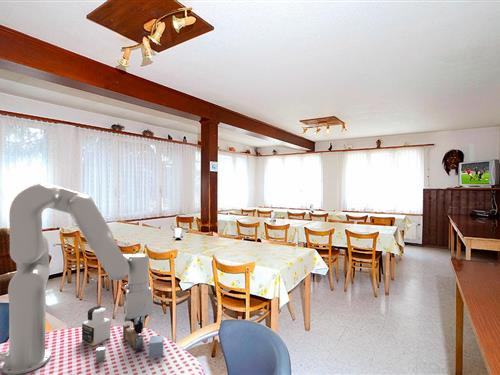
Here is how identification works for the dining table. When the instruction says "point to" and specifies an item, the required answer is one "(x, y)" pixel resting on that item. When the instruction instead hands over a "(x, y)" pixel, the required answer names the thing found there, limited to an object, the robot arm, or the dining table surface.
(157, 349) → the block
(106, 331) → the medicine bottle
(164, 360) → the dining table surface
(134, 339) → the tan wooden plank
